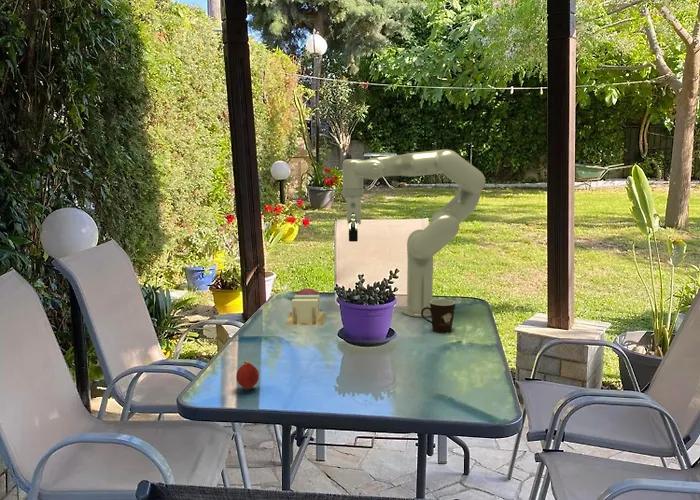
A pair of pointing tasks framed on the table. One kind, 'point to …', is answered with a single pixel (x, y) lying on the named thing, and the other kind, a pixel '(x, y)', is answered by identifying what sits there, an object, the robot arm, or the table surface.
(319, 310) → the plate
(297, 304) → the cream rectangular slab
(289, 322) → the dish rack
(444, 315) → the coffee mug
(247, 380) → the onion
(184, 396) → the table surface
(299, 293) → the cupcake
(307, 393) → the table surface
